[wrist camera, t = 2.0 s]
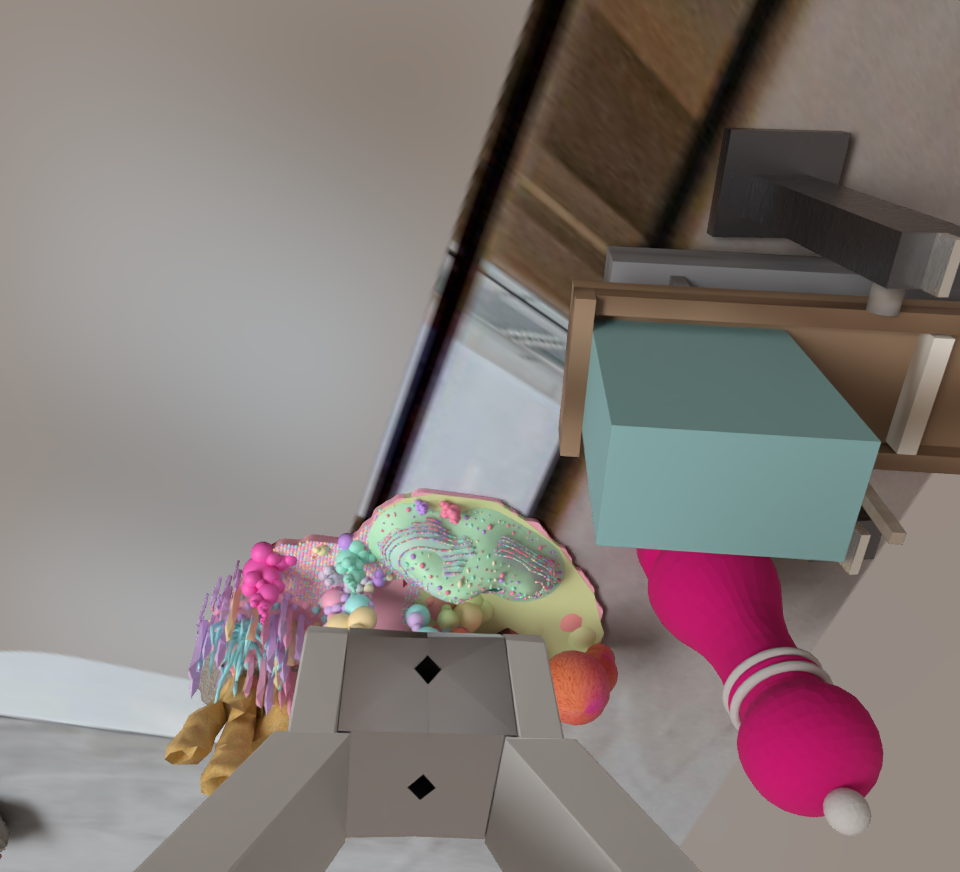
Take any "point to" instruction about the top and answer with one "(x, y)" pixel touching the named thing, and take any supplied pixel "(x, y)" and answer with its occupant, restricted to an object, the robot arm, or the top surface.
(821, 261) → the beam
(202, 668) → the candy landscape model
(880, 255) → the fulcrum
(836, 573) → the top surface
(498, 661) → the robot arm
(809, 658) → the pepper mill
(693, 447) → the teal rectangular block
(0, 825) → the figurine
